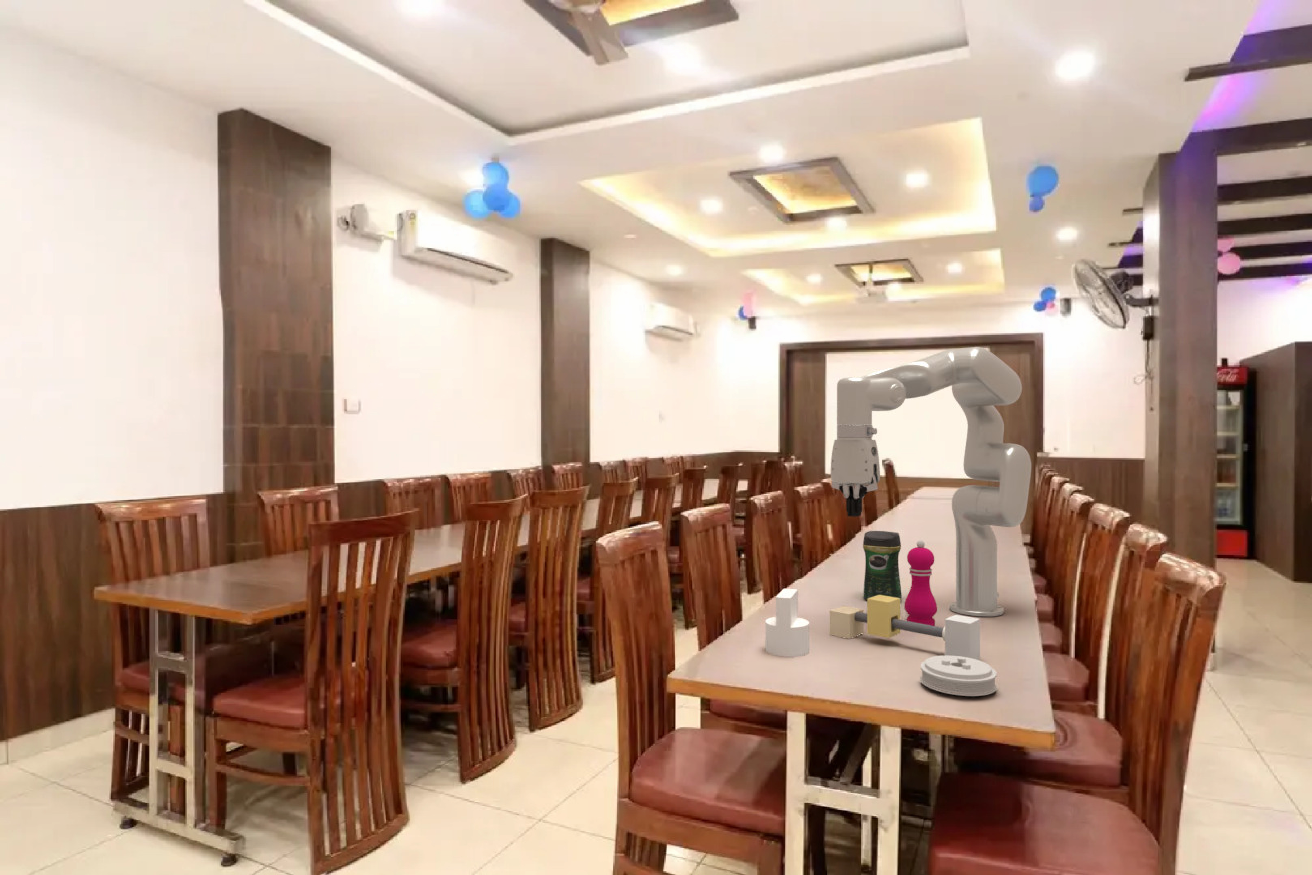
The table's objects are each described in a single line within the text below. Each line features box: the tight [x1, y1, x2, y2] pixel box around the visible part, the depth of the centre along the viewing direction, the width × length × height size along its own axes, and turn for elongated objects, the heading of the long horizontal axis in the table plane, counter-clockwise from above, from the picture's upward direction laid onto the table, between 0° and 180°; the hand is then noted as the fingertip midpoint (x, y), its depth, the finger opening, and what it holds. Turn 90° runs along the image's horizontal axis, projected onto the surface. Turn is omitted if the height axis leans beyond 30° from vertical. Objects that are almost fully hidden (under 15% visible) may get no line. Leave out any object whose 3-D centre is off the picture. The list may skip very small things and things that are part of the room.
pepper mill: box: [903, 540, 938, 626], centre depth 176 cm, size 7×7×20 cm
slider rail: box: [829, 605, 981, 660], centre depth 160 cm, size 6×31×8 cm, turn 46°
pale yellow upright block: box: [866, 595, 901, 639], centre depth 163 cm, size 5×5×8 cm
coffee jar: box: [862, 530, 902, 601], centre depth 202 cm, size 10×8×19 cm
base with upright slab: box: [765, 588, 810, 658], centre depth 158 cm, size 9×9×12 cm
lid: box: [919, 655, 998, 697], centre depth 135 cm, size 13×13×5 cm
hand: (854, 515), depth 168 cm, fingers closed
